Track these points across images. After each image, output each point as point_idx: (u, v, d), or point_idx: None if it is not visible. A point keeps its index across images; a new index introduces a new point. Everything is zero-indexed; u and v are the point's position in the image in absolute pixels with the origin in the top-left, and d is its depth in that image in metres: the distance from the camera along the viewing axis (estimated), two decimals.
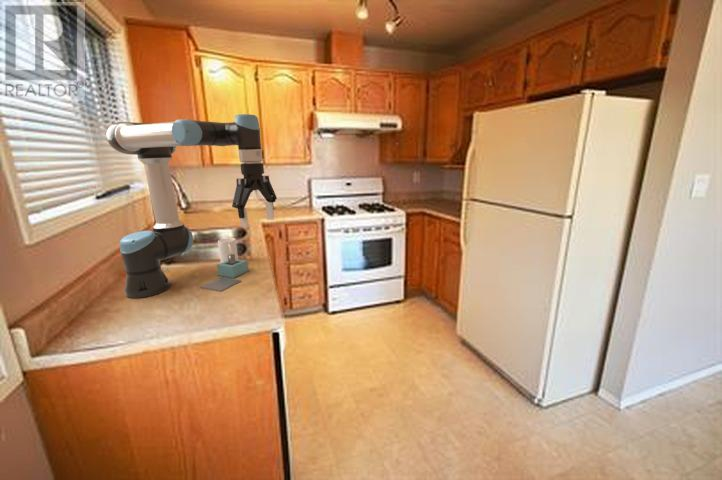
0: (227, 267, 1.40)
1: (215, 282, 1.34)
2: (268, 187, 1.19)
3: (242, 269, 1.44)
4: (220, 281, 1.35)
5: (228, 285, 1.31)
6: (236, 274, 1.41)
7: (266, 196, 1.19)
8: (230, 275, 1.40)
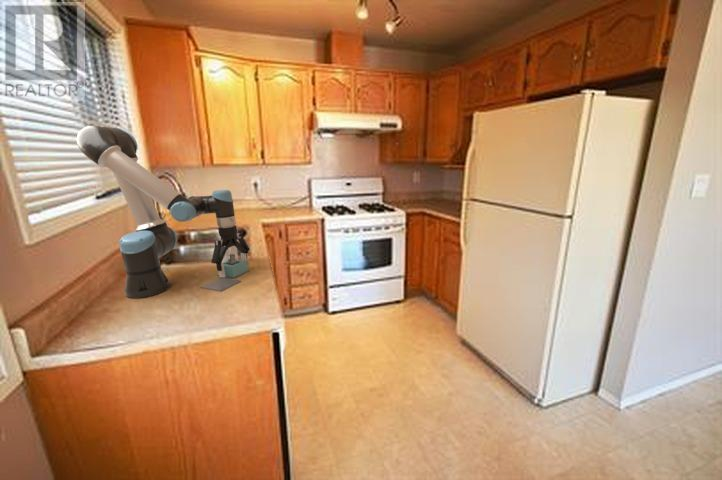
0: (227, 267, 1.40)
1: (215, 282, 1.34)
2: (242, 242, 1.48)
3: (242, 269, 1.44)
4: (220, 281, 1.35)
5: (228, 285, 1.31)
6: (236, 274, 1.41)
7: (240, 249, 1.48)
8: (230, 275, 1.40)
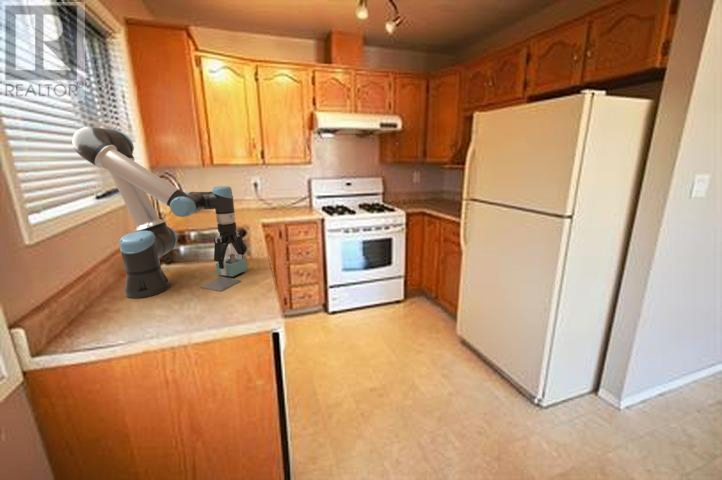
0: (226, 266, 1.40)
1: (215, 282, 1.34)
2: (239, 241, 1.47)
3: (241, 268, 1.44)
4: (220, 281, 1.35)
5: (228, 285, 1.31)
6: (235, 273, 1.41)
7: (237, 249, 1.46)
8: (229, 274, 1.40)
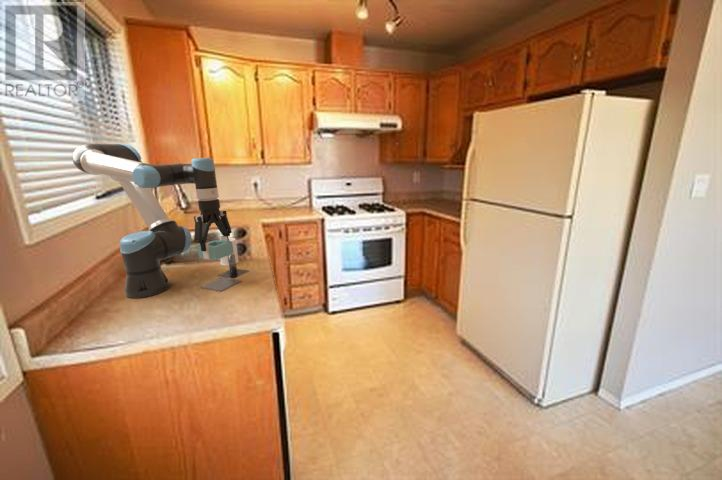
0: (209, 248, 1.24)
1: (215, 282, 1.34)
2: (224, 221, 1.32)
3: (226, 251, 1.29)
4: (220, 281, 1.35)
5: (228, 285, 1.31)
6: (219, 256, 1.25)
7: (221, 230, 1.31)
8: (212, 257, 1.25)
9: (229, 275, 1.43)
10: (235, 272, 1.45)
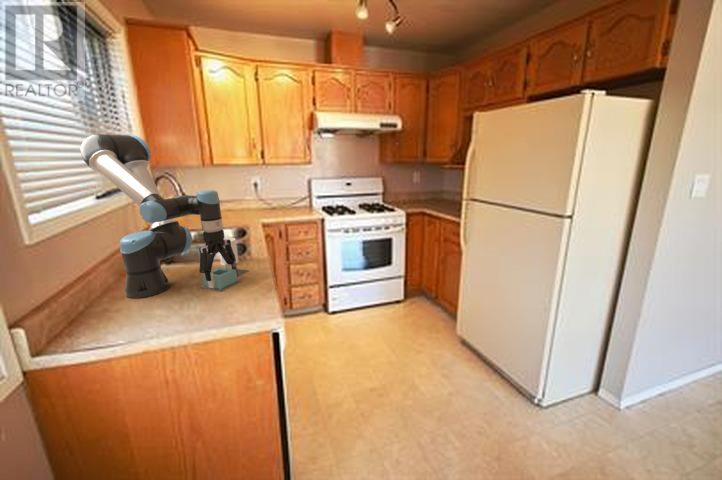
0: None
1: None
2: (228, 250, 1.35)
3: (230, 279, 1.32)
4: None
5: (228, 285, 1.31)
6: (223, 285, 1.28)
7: (226, 258, 1.34)
8: (217, 286, 1.28)
9: None
10: None
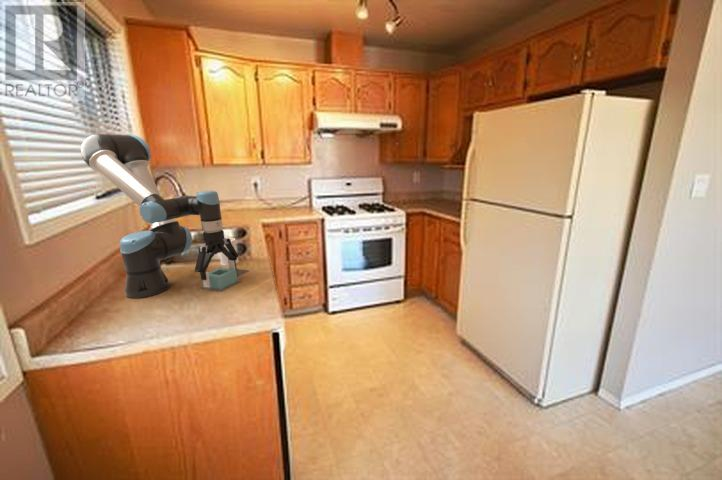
0: (213, 277, 1.27)
1: None
2: (230, 248, 1.35)
3: (230, 279, 1.32)
4: None
5: None
6: (223, 285, 1.28)
7: (228, 256, 1.35)
8: (217, 286, 1.28)
9: None
10: None
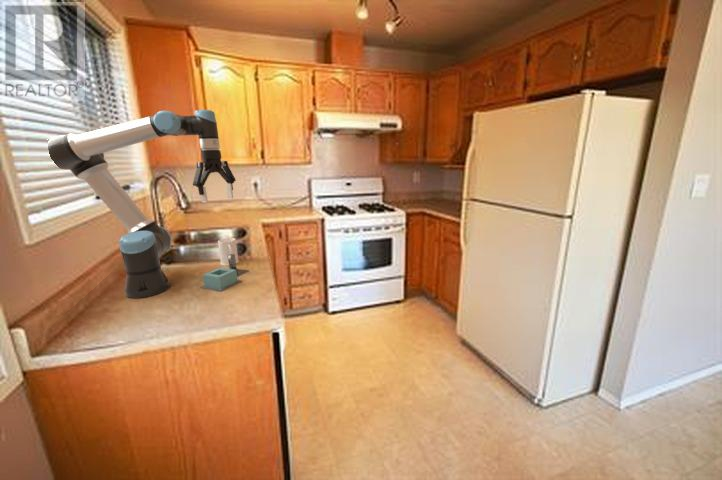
0: (213, 277, 1.27)
1: None
2: (227, 171, 1.43)
3: (230, 279, 1.32)
4: None
5: None
6: (223, 285, 1.28)
7: (225, 178, 1.43)
8: (217, 286, 1.28)
9: None
10: None
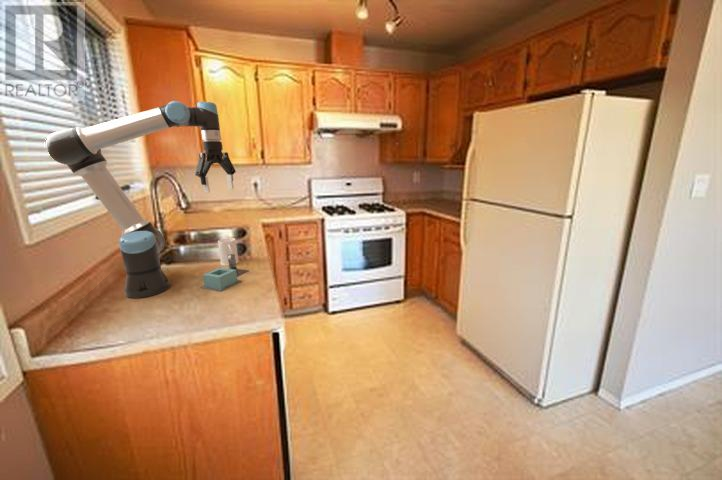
0: (213, 277, 1.27)
1: None
2: (227, 162, 1.47)
3: (230, 279, 1.32)
4: None
5: None
6: (223, 285, 1.28)
7: (226, 169, 1.47)
8: (217, 286, 1.28)
9: None
10: None
